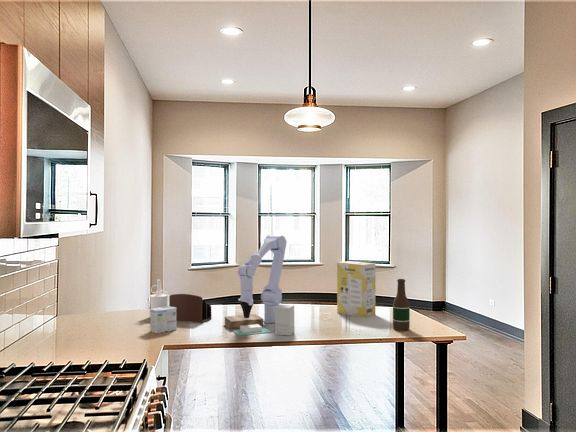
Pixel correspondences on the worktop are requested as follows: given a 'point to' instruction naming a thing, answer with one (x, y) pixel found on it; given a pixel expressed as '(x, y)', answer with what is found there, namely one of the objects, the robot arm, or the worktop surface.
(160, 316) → the light bulb box
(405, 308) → the beer bottle
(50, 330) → the worktop surface
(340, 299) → the pasta box
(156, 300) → the white necked piece
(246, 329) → the cream white block
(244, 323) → the board
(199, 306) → the letter holder
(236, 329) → the mat
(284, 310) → the supplement box
